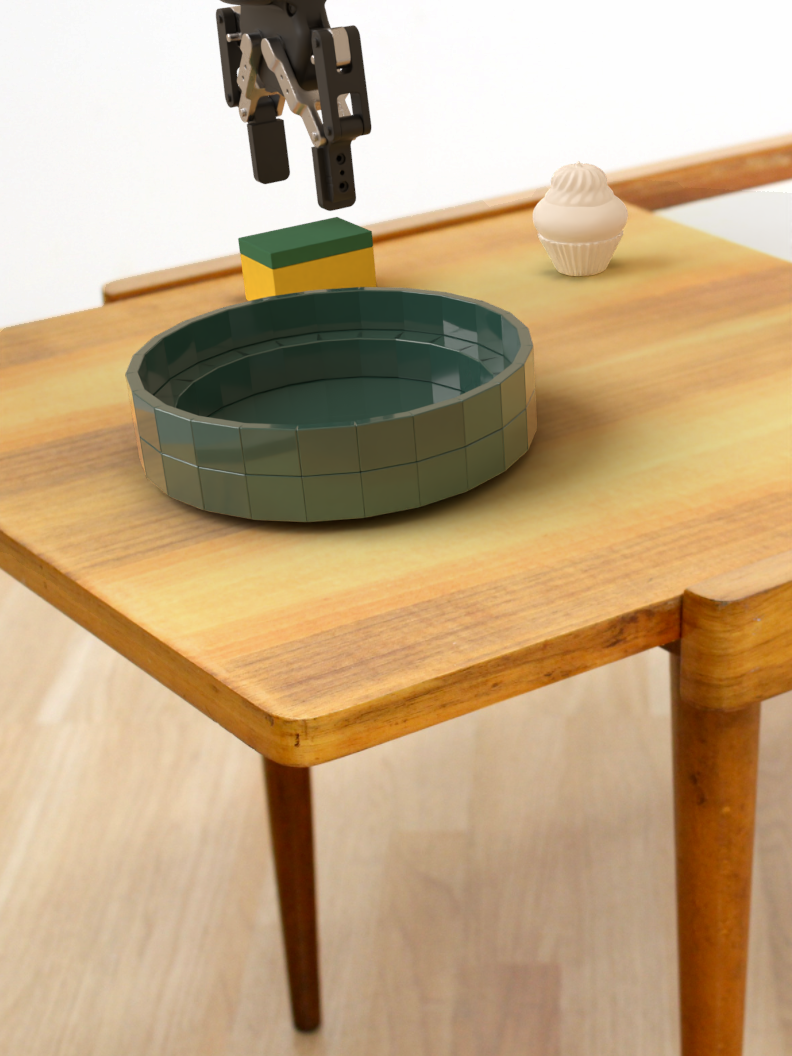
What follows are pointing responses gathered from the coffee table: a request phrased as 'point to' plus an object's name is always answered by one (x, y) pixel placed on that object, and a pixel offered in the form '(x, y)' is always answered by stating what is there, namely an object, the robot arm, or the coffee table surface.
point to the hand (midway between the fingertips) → (304, 194)
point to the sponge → (307, 258)
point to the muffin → (580, 220)
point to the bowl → (333, 403)
